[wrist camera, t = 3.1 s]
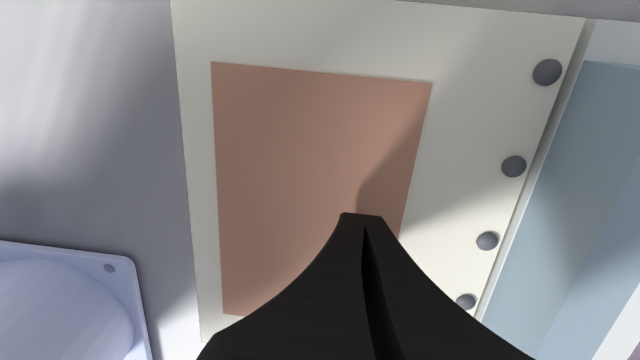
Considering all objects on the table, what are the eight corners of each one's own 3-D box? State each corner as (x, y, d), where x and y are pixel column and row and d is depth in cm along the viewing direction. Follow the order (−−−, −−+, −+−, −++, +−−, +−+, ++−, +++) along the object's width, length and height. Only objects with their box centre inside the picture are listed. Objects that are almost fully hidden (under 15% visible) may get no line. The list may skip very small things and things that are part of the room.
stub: (449, 347, 16) (481, 457, 12) (565, 18, 10) (707, 18, 6) (580, 364, 16) (658, 483, 12) (779, 38, 10) (1076, 51, 6)
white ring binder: (215, 312, 17) (200, 343, 15) (194, -15, 11) (166, -21, 9) (441, 342, 16) (451, 378, 15) (551, 18, 10) (588, 17, 9)
